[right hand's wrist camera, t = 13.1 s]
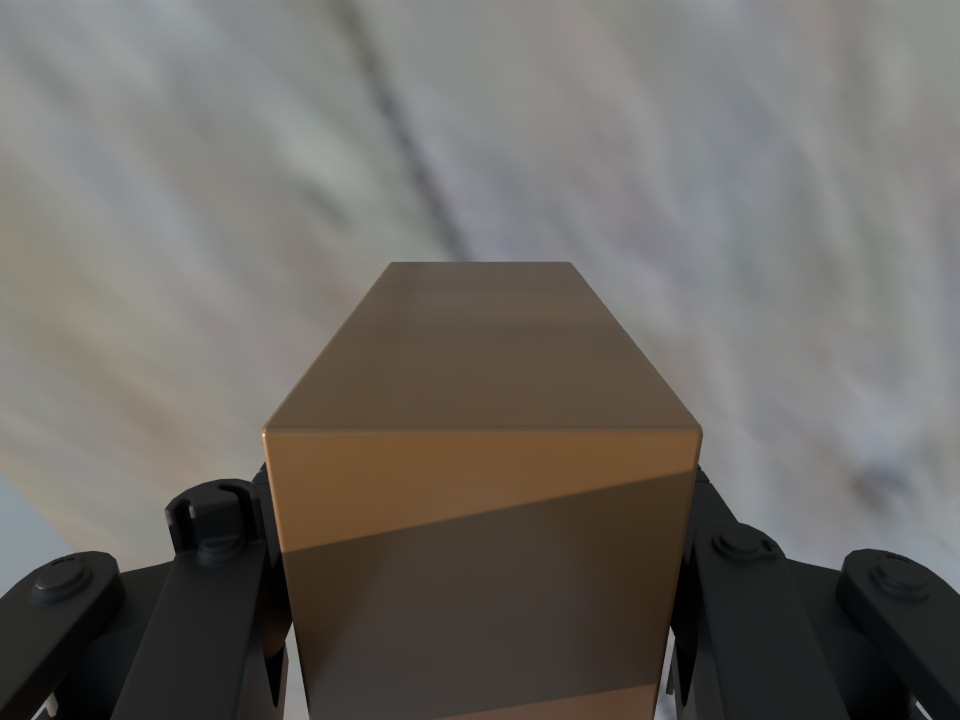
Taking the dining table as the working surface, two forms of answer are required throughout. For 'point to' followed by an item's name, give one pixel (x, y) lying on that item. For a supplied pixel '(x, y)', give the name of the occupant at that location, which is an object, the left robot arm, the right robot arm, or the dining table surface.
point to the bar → (481, 502)
